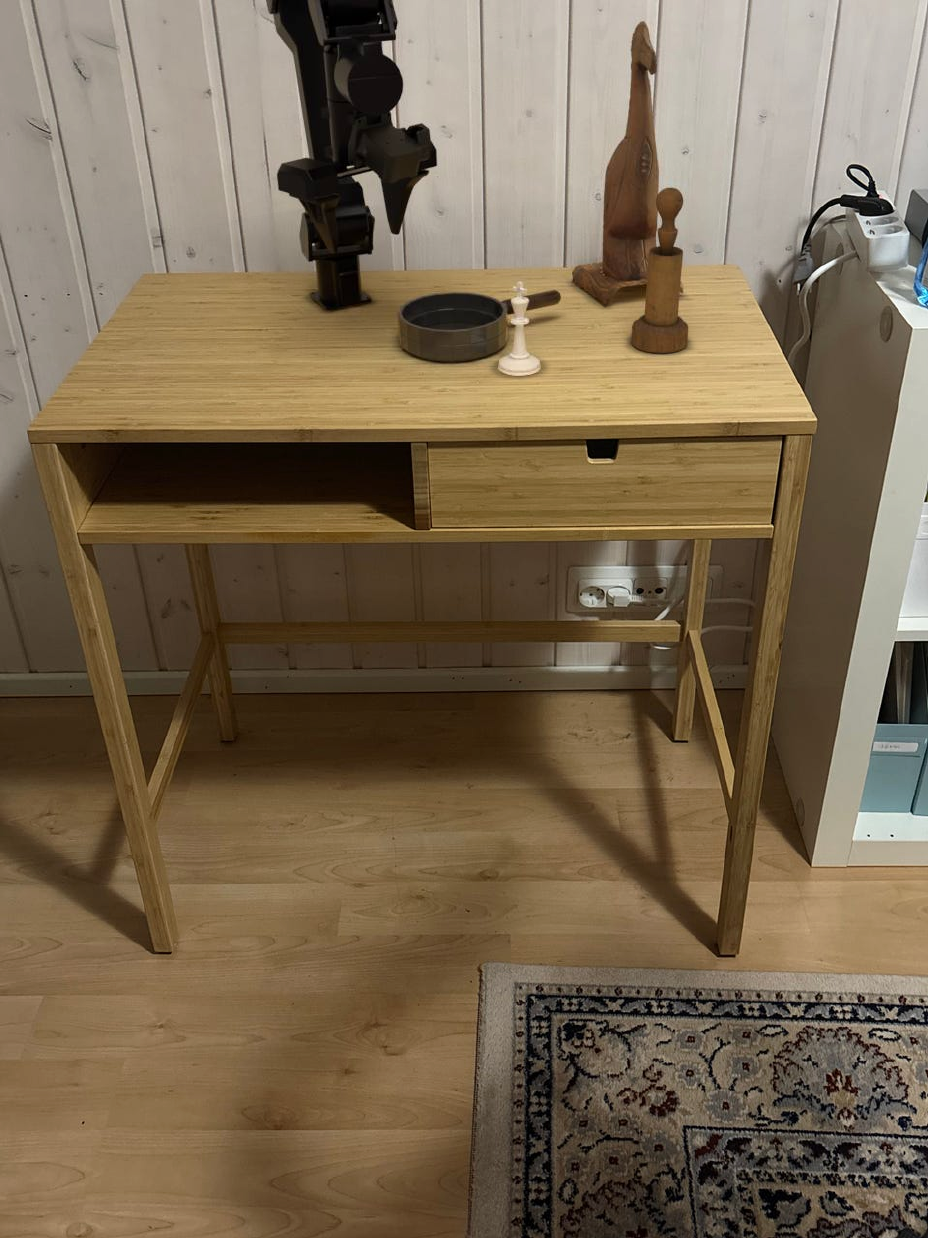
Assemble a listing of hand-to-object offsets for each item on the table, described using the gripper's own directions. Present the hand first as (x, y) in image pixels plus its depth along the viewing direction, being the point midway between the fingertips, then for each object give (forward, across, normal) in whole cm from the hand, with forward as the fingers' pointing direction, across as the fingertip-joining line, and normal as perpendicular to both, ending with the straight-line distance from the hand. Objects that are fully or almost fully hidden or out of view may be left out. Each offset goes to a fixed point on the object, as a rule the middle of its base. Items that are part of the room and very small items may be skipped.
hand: (364, 243), depth 135 cm
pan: (+12, +8, -6) cm, 16 cm away
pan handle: (+10, +18, -9) cm, 22 cm away
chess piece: (+13, +8, -17) cm, 23 cm away
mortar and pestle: (+13, +24, -24) cm, 37 cm away
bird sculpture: (+13, +36, -10) cm, 39 cm away
